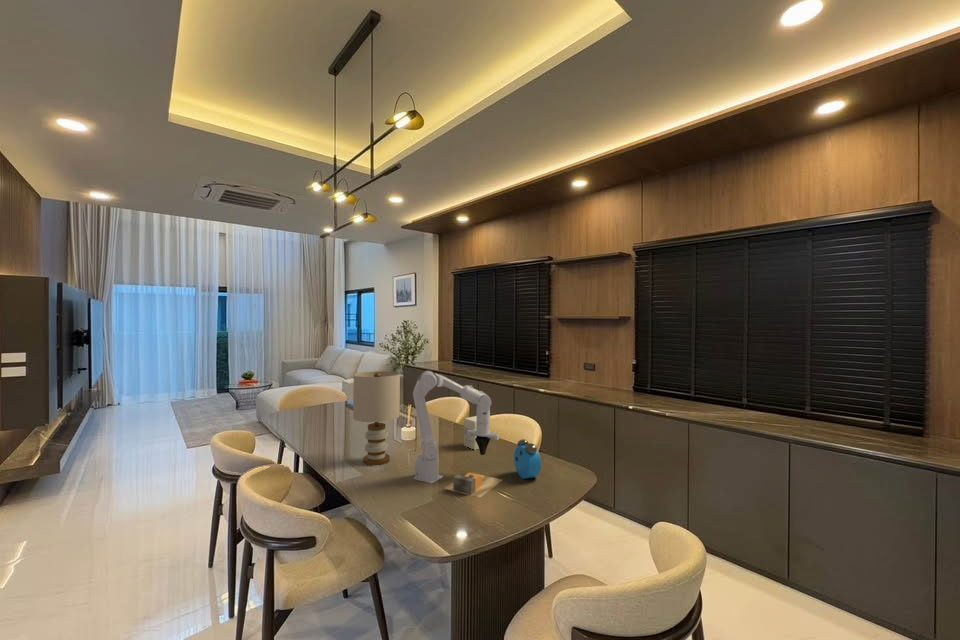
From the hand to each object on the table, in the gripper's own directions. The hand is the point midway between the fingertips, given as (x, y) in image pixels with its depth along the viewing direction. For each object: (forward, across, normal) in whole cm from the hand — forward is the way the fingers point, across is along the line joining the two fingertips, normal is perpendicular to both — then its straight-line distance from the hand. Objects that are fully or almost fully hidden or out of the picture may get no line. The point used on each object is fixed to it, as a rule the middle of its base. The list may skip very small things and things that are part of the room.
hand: (482, 454), depth 166 cm
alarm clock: (+9, -17, -7) cm, 21 cm away
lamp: (+9, +51, +11) cm, 53 cm away
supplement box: (+9, +22, -31) cm, 39 cm away
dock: (+9, -2, +11) cm, 14 cm away
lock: (+8, -3, +14) cm, 16 cm away
